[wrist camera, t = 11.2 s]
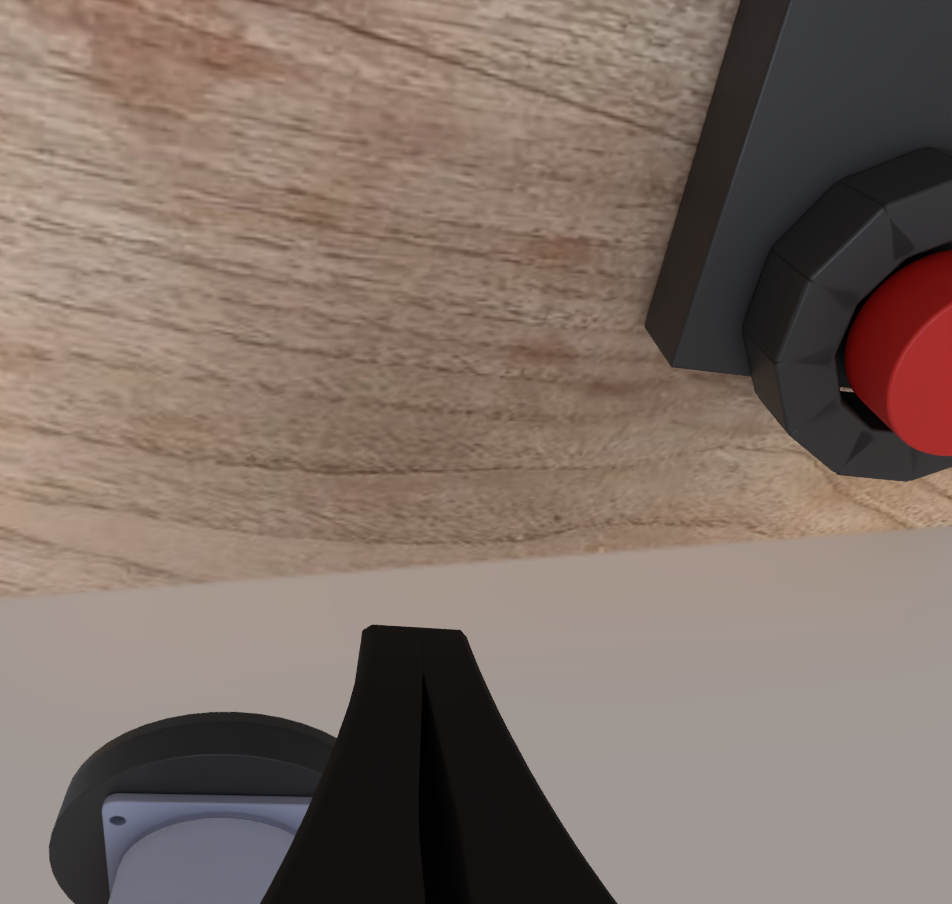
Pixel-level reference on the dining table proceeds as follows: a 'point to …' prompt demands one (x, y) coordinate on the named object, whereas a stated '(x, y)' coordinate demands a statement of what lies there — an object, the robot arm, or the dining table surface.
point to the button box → (812, 210)
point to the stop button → (908, 353)
